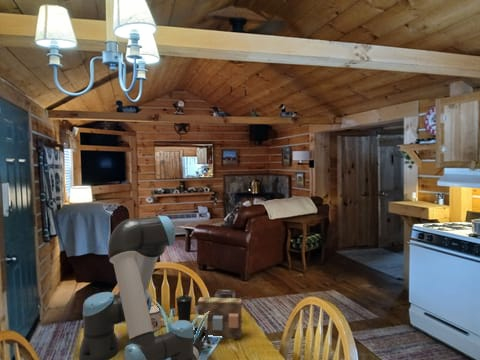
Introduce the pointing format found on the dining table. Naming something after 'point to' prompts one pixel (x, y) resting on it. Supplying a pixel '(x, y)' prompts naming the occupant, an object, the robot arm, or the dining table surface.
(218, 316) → the slate button
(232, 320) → the terracotta button
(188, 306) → the drinking cup
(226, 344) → the dining table surface
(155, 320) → the teacup with lid
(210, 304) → the button console
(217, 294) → the coffee box
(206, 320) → the ivory button
